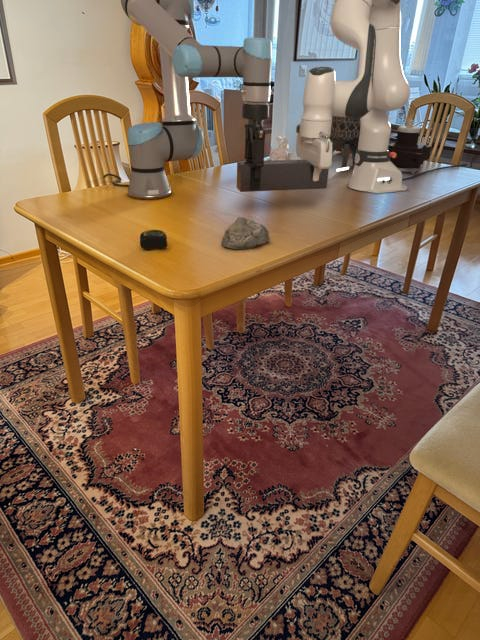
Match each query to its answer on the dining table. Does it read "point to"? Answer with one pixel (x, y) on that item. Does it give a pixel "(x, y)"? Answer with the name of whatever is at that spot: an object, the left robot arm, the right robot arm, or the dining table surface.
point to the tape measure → (153, 239)
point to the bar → (281, 176)
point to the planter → (345, 137)
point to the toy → (341, 150)
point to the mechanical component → (409, 148)
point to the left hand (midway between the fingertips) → (252, 187)
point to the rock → (245, 234)
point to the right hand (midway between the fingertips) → (311, 178)
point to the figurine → (280, 150)
